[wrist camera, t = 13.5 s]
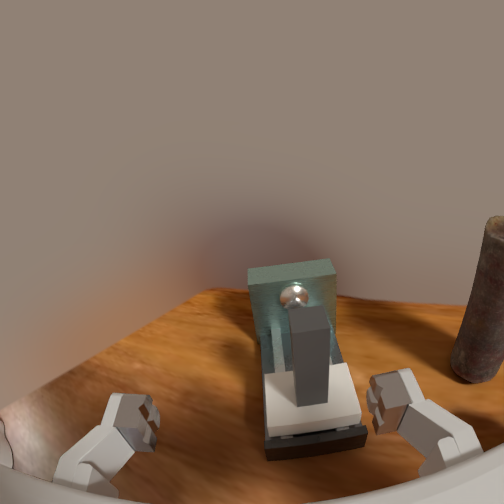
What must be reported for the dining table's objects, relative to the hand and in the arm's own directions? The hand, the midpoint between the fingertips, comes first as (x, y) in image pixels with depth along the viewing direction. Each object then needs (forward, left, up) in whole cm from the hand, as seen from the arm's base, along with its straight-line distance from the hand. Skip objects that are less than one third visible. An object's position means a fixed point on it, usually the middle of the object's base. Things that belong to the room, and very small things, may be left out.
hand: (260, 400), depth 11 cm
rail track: (+4, +20, -22) cm, 29 cm away
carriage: (+3, +13, -19) cm, 24 cm away
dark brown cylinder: (+26, +15, -22) cm, 37 cm away
